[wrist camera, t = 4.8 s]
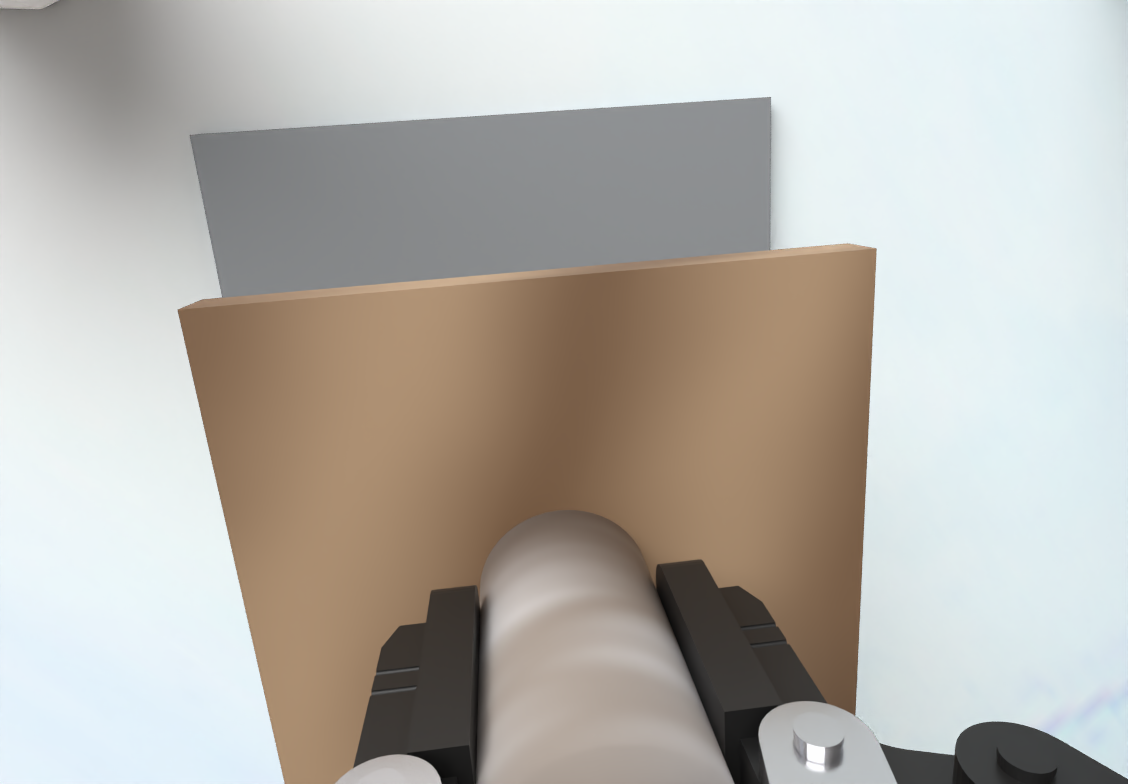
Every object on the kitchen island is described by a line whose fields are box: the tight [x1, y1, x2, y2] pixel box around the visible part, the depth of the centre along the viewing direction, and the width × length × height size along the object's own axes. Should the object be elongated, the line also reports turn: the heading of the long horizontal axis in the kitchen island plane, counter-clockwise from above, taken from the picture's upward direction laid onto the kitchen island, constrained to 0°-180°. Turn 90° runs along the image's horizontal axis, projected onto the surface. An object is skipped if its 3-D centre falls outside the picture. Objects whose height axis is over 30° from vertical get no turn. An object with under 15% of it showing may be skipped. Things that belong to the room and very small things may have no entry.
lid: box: [178, 244, 876, 784], centre depth 11 cm, size 11×11×6 cm
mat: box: [190, 97, 771, 298], centre depth 25 cm, size 18×18×1 cm
